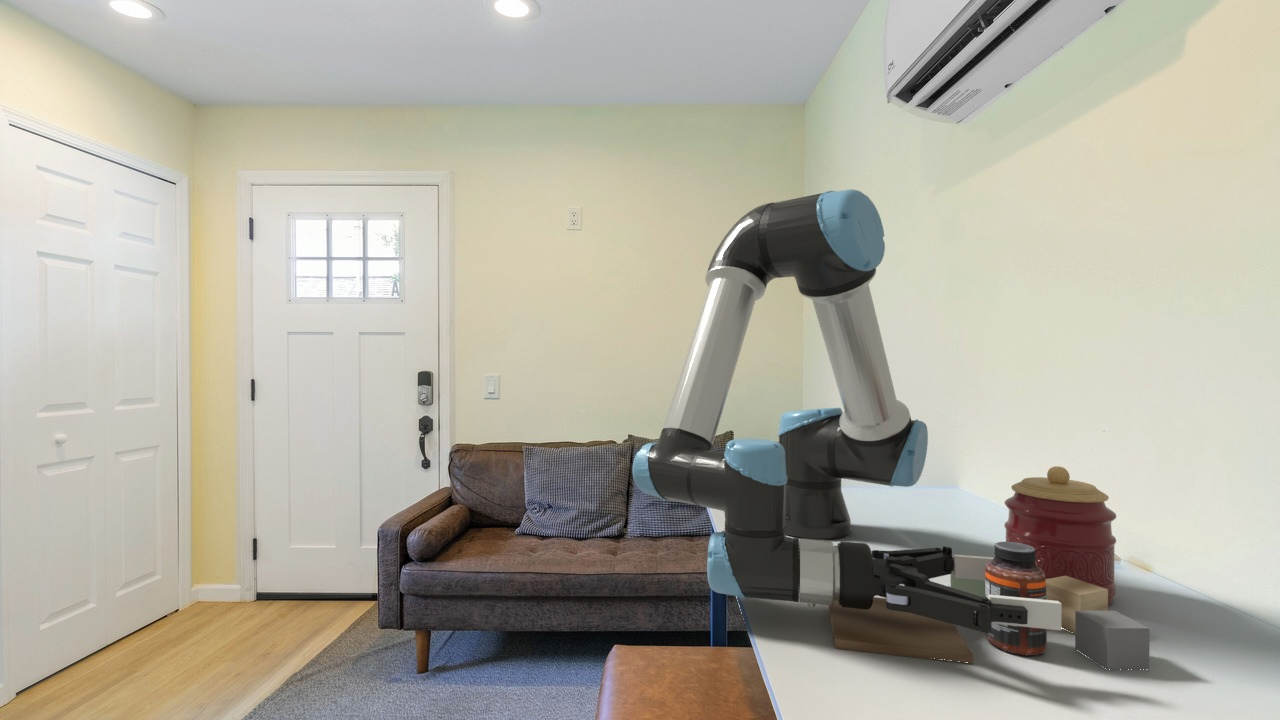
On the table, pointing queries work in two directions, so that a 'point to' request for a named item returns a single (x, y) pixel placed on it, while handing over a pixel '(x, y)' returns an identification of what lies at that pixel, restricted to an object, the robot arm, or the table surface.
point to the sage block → (968, 585)
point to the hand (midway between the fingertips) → (1034, 591)
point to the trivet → (896, 633)
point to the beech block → (1075, 598)
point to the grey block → (1112, 640)
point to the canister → (1064, 527)
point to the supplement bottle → (1016, 595)
